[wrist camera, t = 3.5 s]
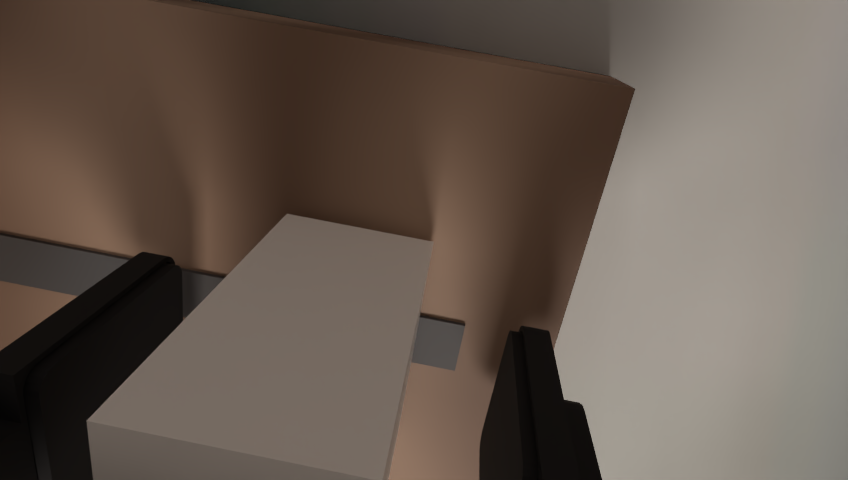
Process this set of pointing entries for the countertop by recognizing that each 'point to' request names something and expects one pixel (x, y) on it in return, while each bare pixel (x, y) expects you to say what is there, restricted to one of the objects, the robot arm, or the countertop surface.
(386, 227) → the console board
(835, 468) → the countertop surface
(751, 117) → the countertop surface
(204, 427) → the fader knob
